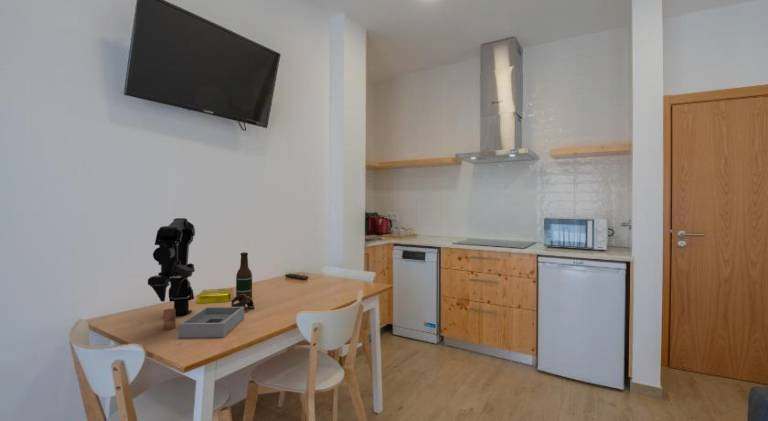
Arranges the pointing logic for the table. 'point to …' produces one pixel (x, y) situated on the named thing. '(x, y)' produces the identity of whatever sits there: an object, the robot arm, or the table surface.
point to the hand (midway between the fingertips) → (169, 298)
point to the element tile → (215, 295)
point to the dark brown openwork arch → (242, 301)
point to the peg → (169, 319)
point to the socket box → (211, 322)
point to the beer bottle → (244, 277)
